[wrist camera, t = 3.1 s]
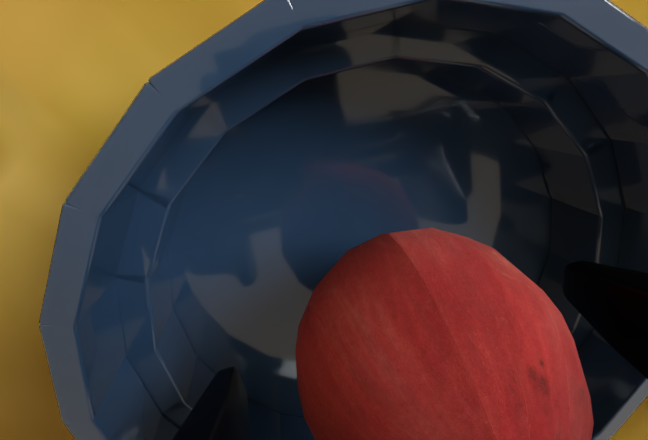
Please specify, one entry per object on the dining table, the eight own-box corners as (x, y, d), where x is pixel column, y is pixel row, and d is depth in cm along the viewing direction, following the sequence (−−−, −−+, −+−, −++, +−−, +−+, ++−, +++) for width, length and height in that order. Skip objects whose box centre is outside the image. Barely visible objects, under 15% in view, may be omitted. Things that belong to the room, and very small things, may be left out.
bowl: (592, -46, 9) (813, -136, 6) (566, 368, 15) (666, 459, 11) (13, 92, 8) (-193, 95, 4) (226, 480, 14) (213, 621, 10)
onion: (488, 260, 12) (861, 541, 4) (375, 371, 13) (529, 754, 5) (373, 151, 10) (708, 338, 2) (248, 293, 11) (218, 738, 3)
